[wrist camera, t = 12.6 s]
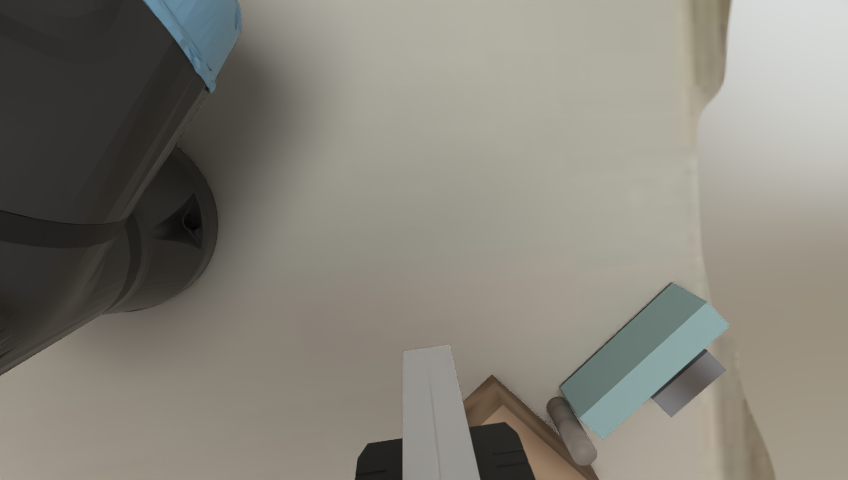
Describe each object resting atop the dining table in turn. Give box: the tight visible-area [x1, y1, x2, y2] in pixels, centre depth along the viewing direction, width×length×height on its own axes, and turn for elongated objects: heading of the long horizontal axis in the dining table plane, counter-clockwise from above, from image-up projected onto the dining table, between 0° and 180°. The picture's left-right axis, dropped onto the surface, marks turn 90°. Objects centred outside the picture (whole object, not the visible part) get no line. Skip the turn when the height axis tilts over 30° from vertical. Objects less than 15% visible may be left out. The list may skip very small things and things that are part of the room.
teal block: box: [560, 283, 730, 439], centre depth 41 cm, size 14×3×5 cm, turn 136°
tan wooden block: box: [463, 349, 726, 480], centre depth 42 cm, size 26×14×7 cm, turn 136°
